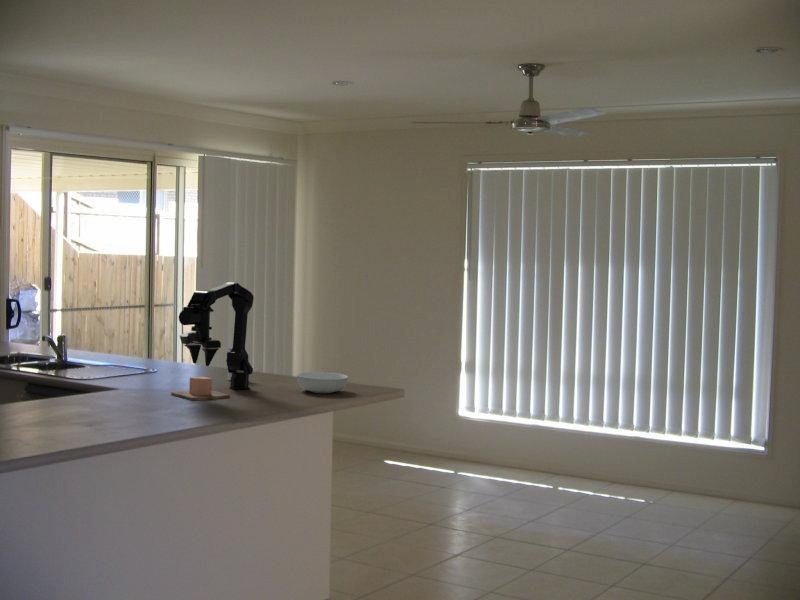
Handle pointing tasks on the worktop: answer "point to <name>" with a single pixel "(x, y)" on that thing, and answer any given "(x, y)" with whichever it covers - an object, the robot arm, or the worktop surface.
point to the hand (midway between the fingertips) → (200, 364)
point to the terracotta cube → (200, 385)
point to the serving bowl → (322, 381)
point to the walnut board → (200, 397)
